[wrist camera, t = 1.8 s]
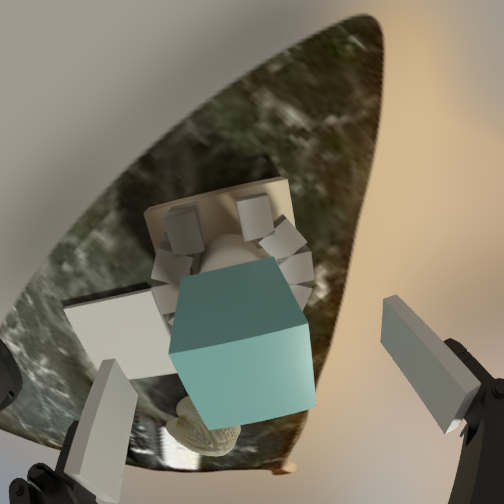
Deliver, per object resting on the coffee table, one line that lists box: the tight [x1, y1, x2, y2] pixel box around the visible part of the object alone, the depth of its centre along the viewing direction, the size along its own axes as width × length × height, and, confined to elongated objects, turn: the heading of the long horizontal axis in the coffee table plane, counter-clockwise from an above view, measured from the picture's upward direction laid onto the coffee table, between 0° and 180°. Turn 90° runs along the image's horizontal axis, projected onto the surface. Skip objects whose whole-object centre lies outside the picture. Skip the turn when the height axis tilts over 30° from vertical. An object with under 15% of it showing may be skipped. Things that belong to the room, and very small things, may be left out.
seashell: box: [166, 396, 241, 456], centre depth 30 cm, size 8×8×8 cm
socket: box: [143, 176, 314, 326], centre depth 22 cm, size 11×11×6 cm
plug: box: [168, 234, 316, 430], centre depth 17 cm, size 7×5×13 cm
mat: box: [63, 288, 177, 379], centre depth 27 cm, size 10×10×1 cm
